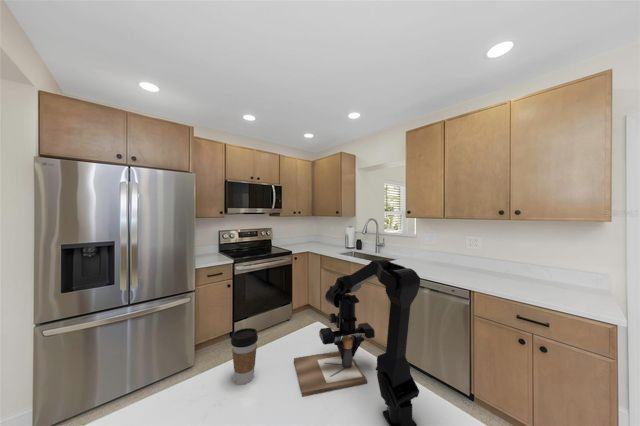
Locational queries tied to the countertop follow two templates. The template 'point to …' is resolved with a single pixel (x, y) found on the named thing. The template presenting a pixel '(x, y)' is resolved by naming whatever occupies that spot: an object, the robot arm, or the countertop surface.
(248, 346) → the coffee cup
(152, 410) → the countertop surface
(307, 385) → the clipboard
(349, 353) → the black and orange cylinder
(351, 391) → the countertop surface
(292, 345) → the countertop surface
